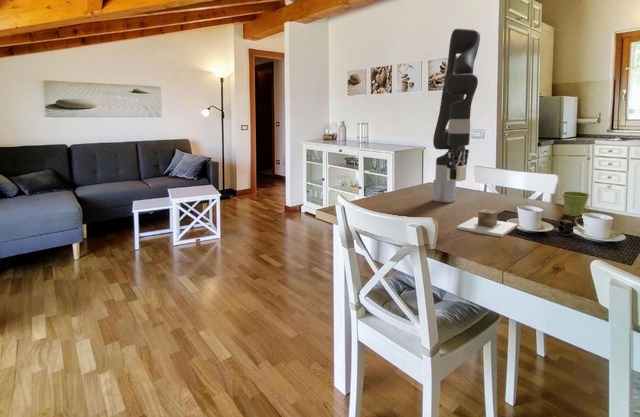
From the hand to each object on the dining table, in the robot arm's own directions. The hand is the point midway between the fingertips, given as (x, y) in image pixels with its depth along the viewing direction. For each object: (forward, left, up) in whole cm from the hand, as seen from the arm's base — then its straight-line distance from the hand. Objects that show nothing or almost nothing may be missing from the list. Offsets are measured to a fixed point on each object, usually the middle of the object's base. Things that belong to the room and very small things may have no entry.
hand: (456, 178), depth 155 cm
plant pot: (+32, +41, -18) cm, 55 cm away
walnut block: (+11, +3, -16) cm, 20 cm away
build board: (+12, +3, -18) cm, 21 cm away
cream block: (0, 0, -1) cm, 1 cm away
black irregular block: (+35, +13, -18) cm, 41 cm away
